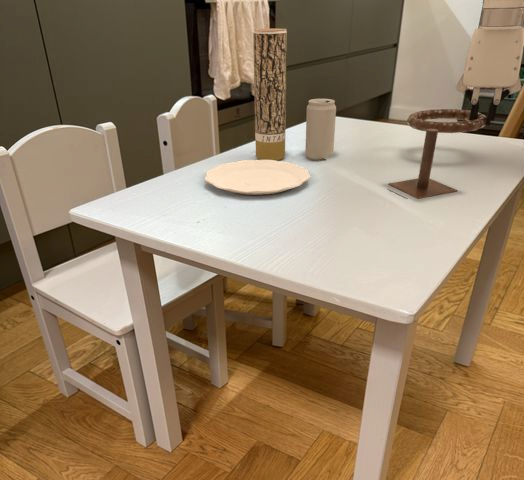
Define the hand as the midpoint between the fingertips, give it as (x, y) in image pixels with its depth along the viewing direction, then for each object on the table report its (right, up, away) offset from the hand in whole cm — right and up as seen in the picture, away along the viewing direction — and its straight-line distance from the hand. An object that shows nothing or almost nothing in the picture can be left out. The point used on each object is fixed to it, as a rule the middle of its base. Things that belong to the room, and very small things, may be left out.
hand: (480, 123), depth 105 cm
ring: (-7, +1, +2) cm, 7 cm away
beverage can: (-33, -4, +10) cm, 35 cm away
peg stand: (-16, -18, -11) cm, 26 cm away
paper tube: (-44, -3, +10) cm, 45 cm away
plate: (-47, -14, -4) cm, 49 cm away
